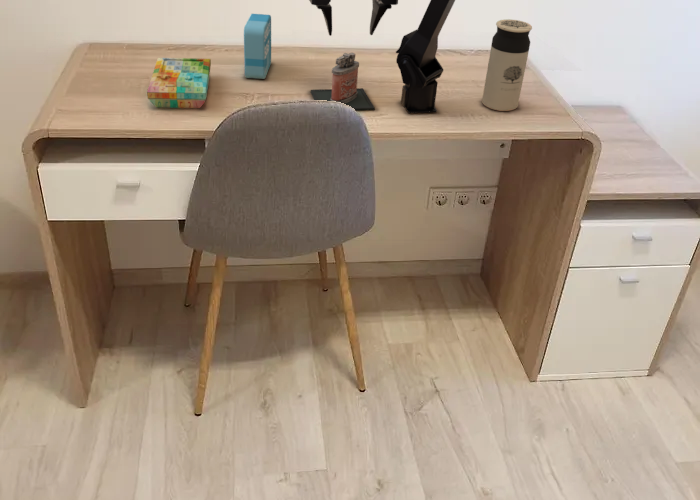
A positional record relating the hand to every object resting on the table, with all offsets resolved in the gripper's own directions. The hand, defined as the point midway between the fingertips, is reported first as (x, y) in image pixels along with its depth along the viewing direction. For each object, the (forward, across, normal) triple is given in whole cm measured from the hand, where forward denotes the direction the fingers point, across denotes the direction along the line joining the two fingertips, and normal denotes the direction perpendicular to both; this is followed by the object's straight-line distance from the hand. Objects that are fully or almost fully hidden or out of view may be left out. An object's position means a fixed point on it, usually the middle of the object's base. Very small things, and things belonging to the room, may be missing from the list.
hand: (350, 34), depth 163 cm
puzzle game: (+12, +37, 0) cm, 39 cm away
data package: (+12, +19, -11) cm, 25 cm away
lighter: (+12, +3, +8) cm, 14 cm away
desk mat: (+12, +3, +8) cm, 15 cm away
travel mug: (+12, -32, +13) cm, 37 cm away
